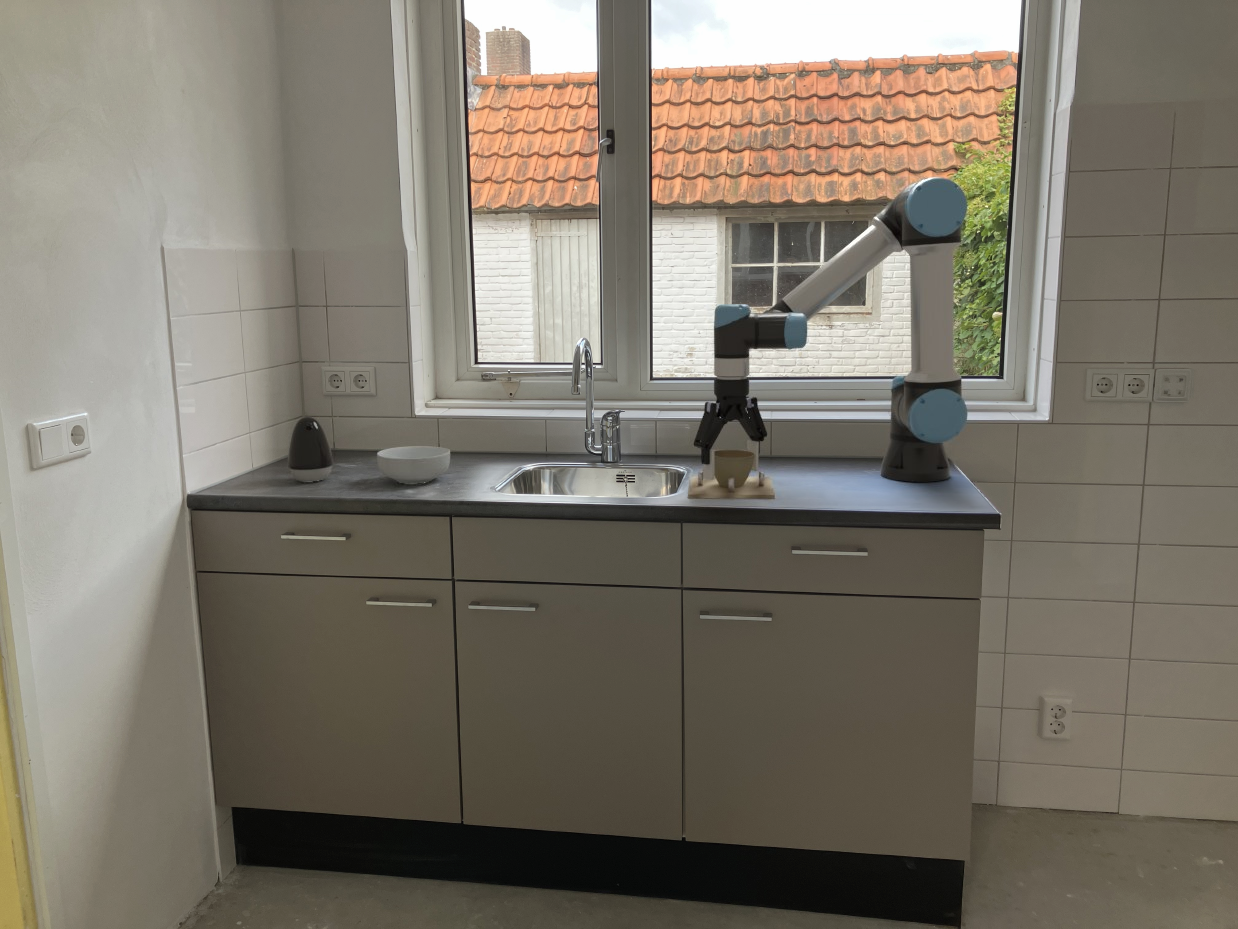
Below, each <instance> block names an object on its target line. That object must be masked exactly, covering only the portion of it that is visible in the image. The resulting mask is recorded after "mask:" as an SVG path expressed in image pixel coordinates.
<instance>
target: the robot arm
mask: <svg viewBox="0 0 1238 929" xmlns="http://www.w3.org/2000/svg"><path fill="white" fill-rule="evenodd" d="M967 213H968V202H967V197H966V195H965V191H963V189H962V188H961V186H960V185H959V184H957V183H956V182H955V181H953V180H951V179H949V178H945V177H940V176H938V177H936V176H931V177H927V178H923V179H921V180H919V181H917V182H914V183H911V184H909V185H907V186H906V187H904V188H903V189H902V190H901V191H900V192H899V193H898V194H897V195H896V196H895V197H894V198H893V200H891V202H889V203H888V204H887V205H886V206H884V208H883V209H882V210H881V211H880V212H879V213H877V214H876V215H875V216H874V217H873V218H872V221H871V225H870V226H869V227H867V228H866V229H865V230H864V231H863V232H862V233H861V234H859V235H858V236H857V237H855V238H854V239H853V240H852V241H851V242H849V243H848V244H847V245H846V246H845V247H843V248H842V249H841V250H839V251H838V252H837V253H836V254H835V255H834V256H832V257H831V258H829V260H828V261H827V262H825V263H824V264H823V265H821V267H818V269H817V270H816V271H814V272H813V273H812V274H811V275H809V276H808V277H807V278H806V279H805V280H802V282H801V283H800V284H798V285H797V286H796V287H794V289H792V290H791V291H789V293H788V294H786V295H785V296H784V297H782V298H781V299H780V300H779V301H778V302H777V303H775V304H774V305H773V306H772V307H771V308H769V309H767V310H765V311H763V312H762V313H754V312H751V308H750V305H748V304H744V303H743V304H742V303H739V304H736V303H733V304H732V303H730V304H729V303H727V304H725V303H724V304H719V305H717V306H716V308H714V309H715V310H714V315H713V316H714V319H713V353H714V354H713V355H714V356H713V358H714V359H713V365H714V366H713V375H714V376H715V378H714V379H713V394H714V396H715V397H716V400H715V402H711V401H705V403H704V408H703V411H704V412H703V415H702V417H701V420H700V424H699V426H698V428H697V433H696V435H695V438H694V442H693V446H694V447H696V448H697V449H700V451H701V452H700V453H701V454H700V456H701V458H700V461H701V464H702V471H703V478H705V479H709V480H714V477H715V476H714V451H715V449H713V448H712V447H714V444H715V443H716V441H717V439H718V437H719V435H720V433H721V432H722V431H723V428H724V427H725V425H726V424H728V422H733V421H738V422H739V424H740V426H741V427H742V428H743V430H744V431H745V433H746V435H747V436H748V438H749V440H746V441H747V443H746V445H747V446H746V448H747V449H746V451H750V452H753V453H755V457H754V462H753V466H752V469H751V471H753V472H759V455H760V453H761V442H764V441H765V438H767V437H768V431H767V429H766V426H765V423H764V419H763V418H762V415H761V413H760V409H759V405H758V398H757V397H756V396H749V394H750V379H749V378H748V376H750V351H751V350H758V349H759V350H776V349H777V350H781V349H782V350H793V349H794V350H796V349H803V348H805V347H806V345H807V340H808V321H810V320H811V319H813V318H814V317H815V316H816V315H817V314H819V312H822V310H823V309H824V308H826V307H827V306H829V305H830V304H831V303H832V302H833V301H835V300H836V299H837V298H838V297H839V296H841V295H842V294H843V293H844V292H845V291H847V290H848V289H850V287H852V286H853V285H855V284H856V283H857V282H858V281H860V280H861V279H862V278H863V277H865V275H867V274H868V273H869V272H871V270H873V269H875V267H877V266H879V265H880V263H882V262H883V261H884V260H886V259H887V258H888V257H889V256H890V255H892V254H894V253H902V252H903V251H905V252H906V253H907V254H908V256H909V276H910V277H909V278H910V280H909V281H910V282H909V283H910V284H909V286H910V289H909V290H910V357H911V358H910V363H911V365H910V366H911V369H910V372H908V374H907V375H897V376H894V378H893V379H892V382H891V388H890V393H891V396H890V399H891V400H890V403H891V404H890V428H889V429H890V430H889V431H890V432H889V434H890V435H889V436H890V437H889V444H888V446H887V447H886V450H885V454H884V457H883V459H882V462H881V465H880V475H881V476H882V477H884V478H887V479H891V480H896V481H903V482H913V483H914V482H915V483H916V482H917V483H923V482H924V483H925V482H926V483H929V482H940V481H946V480H948V479H949V478H950V477H951V474H950V473H951V466H950V463H949V459H948V456H947V452H946V449H945V445H944V443H946V442H949V441H951V440H953V439H954V438H956V437H957V436H958V435H959V434H960V433H961V432H962V431H963V429H965V426H966V423H967V421H968V408H967V404H966V401H965V400H964V398H963V396H962V391H963V390H962V389H963V388H962V385H963V384H962V376H961V375H960V374H959V373H958V372H957V370H955V364H954V362H955V358H954V357H955V355H954V354H955V353H954V350H955V346H954V344H955V340H954V337H955V335H954V332H955V330H954V327H955V326H954V324H955V323H954V314H955V313H954V310H955V309H954V308H955V307H954V306H955V305H954V299H955V298H954V296H955V295H954V293H955V292H954V288H955V287H954V253H955V252H956V250H957V249H958V248H959V247H961V245H962V224H963V223H964V221H965V219H966V215H967Z"/></svg>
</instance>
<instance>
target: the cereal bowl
mask: <svg viewBox="0 0 1238 929" xmlns="http://www.w3.org/2000/svg"><path fill="white" fill-rule="evenodd" d="M376 460H377V461H376V463H377V466H378V469H379V471H380V472H381V473H382V474H383V475H384V476H386V477H388V478H389V479H392V480H394V481H396V482H397V483H398V482H399V483H398V484H401V483H423V484H425V483H424V482H428V483H430V482H429V481H431V480H432V481H433V479H435V478H438V477H440V476H442V475H443V474H445V472H446V471H447V470H448V468H449V466H450V463H451V450H450V449H449V448H447V447H446V448H445V447H439V446H426V445H425V446H423V445H420V446H419V445H417V446H412V445H411V446H399V447H397V446H396V447H390V448H386V449H382V450H380V451H377V453H376ZM432 481H431V482H432Z"/></svg>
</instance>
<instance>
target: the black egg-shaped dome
mask: <svg viewBox="0 0 1238 929" xmlns="http://www.w3.org/2000/svg"><path fill="white" fill-rule="evenodd" d="M289 440H290V441H289V446H288V452H287V454H288V455H287V468H288V469H289V472H290V474H291V475H292V477H293V478H294V479H295V480H297V481H298V480H299V482H301V481H317V480H322V479H324V480H325V479H327V478H328V477H329V476H330V474H331V471H332V469H333V465H334V459H333V454H332V448H331V445H330V443H329V440H328V437H327V434H326V431H325V430H324V428H323V426H322V425H321V423H320V421H318V419H317V418H315V417H313V416H304V417H301V418H299V419H298V420H297V421H296V423H295V424H294V426H293V429H292V432H291V436H290V439H289ZM322 481H323V480H322Z"/></svg>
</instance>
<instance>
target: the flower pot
mask: <svg viewBox="0 0 1238 929" xmlns="http://www.w3.org/2000/svg"><path fill="white" fill-rule="evenodd" d="M754 457H755V453H753V452H750V451H747V449H745V450H744V449H728V448H727V449H717V450H716V449H714V477H715V478H716V480H717V482H718V483H719V485H720V486H722V487H727V488H729V478H734V488H737V487H741V486H743V484H744V483H745V481H746V480H747V478H748V477H750V476H749V475H750V473H751V471H752V470H751V469H752V466H753V462H754Z"/></svg>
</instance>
